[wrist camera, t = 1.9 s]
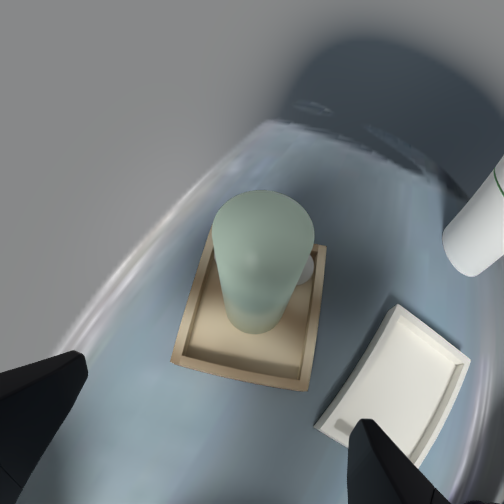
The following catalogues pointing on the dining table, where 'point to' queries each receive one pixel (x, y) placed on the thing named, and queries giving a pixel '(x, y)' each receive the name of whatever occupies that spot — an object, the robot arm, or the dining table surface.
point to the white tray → (400, 386)
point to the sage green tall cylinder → (260, 256)
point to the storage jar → (478, 502)
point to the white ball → (306, 271)
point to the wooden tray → (250, 345)
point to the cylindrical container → (478, 227)
